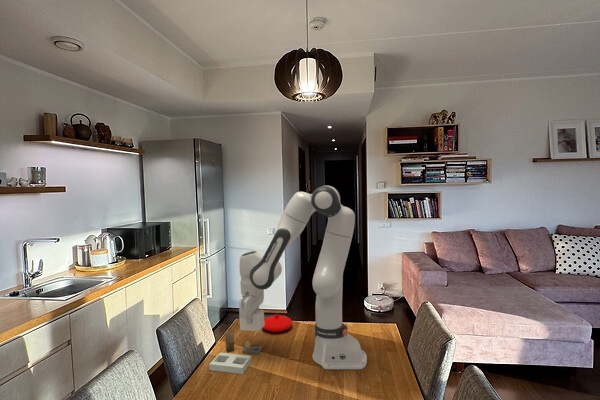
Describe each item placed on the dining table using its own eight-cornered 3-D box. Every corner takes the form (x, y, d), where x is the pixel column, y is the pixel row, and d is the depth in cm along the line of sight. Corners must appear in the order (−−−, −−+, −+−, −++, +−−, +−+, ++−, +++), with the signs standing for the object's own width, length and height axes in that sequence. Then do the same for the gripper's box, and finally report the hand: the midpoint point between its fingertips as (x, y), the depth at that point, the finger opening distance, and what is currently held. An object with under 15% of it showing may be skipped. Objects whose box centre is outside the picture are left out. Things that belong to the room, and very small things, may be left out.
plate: (261, 349, 142) (261, 340, 142) (258, 354, 138) (258, 345, 138) (246, 347, 144) (246, 339, 144) (242, 352, 140) (242, 343, 140)
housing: (264, 325, 143) (263, 309, 142) (259, 331, 137) (258, 314, 136) (245, 324, 145) (244, 308, 144) (240, 330, 139) (239, 314, 139)
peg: (235, 348, 144) (235, 330, 143) (232, 352, 140) (231, 334, 140) (228, 347, 144) (227, 330, 144) (224, 351, 141) (224, 333, 141)
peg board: (251, 361, 132) (251, 355, 132) (242, 374, 123) (242, 367, 123) (220, 358, 135) (220, 352, 135) (209, 370, 126) (209, 364, 126)
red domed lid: (255, 332, 159) (255, 318, 159) (270, 320, 174) (270, 307, 174) (284, 337, 153) (283, 323, 153) (297, 324, 168) (297, 311, 167)
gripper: (248, 296, 129) (250, 330, 130) (265, 282, 149) (267, 311, 150) (234, 296, 131) (236, 330, 131) (252, 282, 151) (254, 311, 151)
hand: (253, 320), depth 140 cm, fingers closed on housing, 6 cm apart
